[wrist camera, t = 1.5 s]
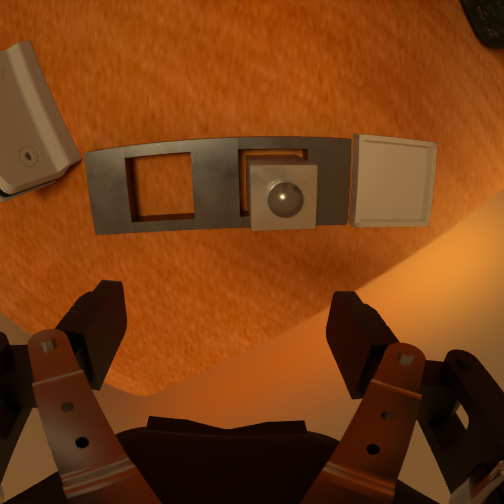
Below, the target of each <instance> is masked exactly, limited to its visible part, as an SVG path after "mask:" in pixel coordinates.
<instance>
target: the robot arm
mask: <svg viewBox="0 0 504 504" xmlns="http://www.w3.org/2000/svg"><path fill="white" fill-rule="evenodd" d="M126 328H127V315H126V307H125V299H124V290H123V285H122V282H121V281H110V280H102V281H101V282H100V283H99V284H98V286H97V287H96V288H95V289H94V291H93V292H91V291H89V292H87V293H86V294H84V295H82V296H81V297H79V298H78V300H77V301H76V302H75V303H74V306H72V307H71V308H70V310H69V312H67V313H66V315H65V316H64V317H63V319H62V320H61V321H60V322H59V324H58V325H57V326H56V328H55V329H47V330H42V331H40V332H38V333H36V334H34V335H33V336H32V337H31V338H30V339H29V341H28V345H10V344H9V341H8V338H7V336H6V335H5V334H4V333H2V332H0V504H439V503H437V502H436V501H434V500H432V499H430V498H429V497H427V496H425V495H423V494H422V493H420V492H418V491H417V490H415V489H413V488H411V487H410V486H408V485H406V484H405V483H403V482H401V481H400V480H398V476H399V473H400V470H401V467H402V465H403V462H404V458H405V456H406V452H407V449H408V446H409V443H410V440H411V436H412V433H413V430H414V426H415V422H416V420H418V422H419V424H420V427H421V429H422V431H423V433H424V435H425V437H426V439H427V441H428V444H429V446H430V447H431V450H432V452H433V455H434V457H435V459H436V461H437V463H438V466H439V468H440V470H441V473H442V475H443V477H444V479H445V482H446V484H447V487H448V489H449V491H450V494H451V497H450V499H449V504H504V392H503V391H502V389H501V388H500V387H499V385H498V384H497V383H496V382H495V380H494V379H493V378H492V377H491V375H490V374H489V373H488V371H487V370H486V369H485V368H484V366H483V365H482V364H481V363H480V361H479V360H478V359H477V358H476V357H475V356H474V355H472V354H471V353H469V352H466V351H464V350H458V349H457V350H451V351H449V352H448V353H447V355H446V357H445V359H444V362H440V361H430V360H426V358H425V355H424V354H423V352H422V351H421V350H420V349H418V348H417V347H415V346H413V345H410V344H407V343H400V342H399V341H398V339H397V338H396V336H395V335H394V334H393V332H392V331H391V330H390V328H389V327H388V326H386V323H385V322H384V320H383V319H382V318H381V316H380V315H379V314H378V312H377V311H376V310H375V309H373V308H372V307H370V306H369V305H368V304H363V302H362V301H361V300H360V298H359V297H358V295H357V294H356V293H355V292H354V291H336V292H335V293H334V294H333V298H332V302H331V307H330V312H329V317H328V322H327V326H326V338H327V342H328V344H329V347H330V349H331V351H332V354H333V356H334V358H335V360H336V363H337V365H338V368H339V370H340V372H341V375H342V376H343V379H344V382H345V384H346V386H347V389H348V391H349V394H350V396H351V398H352V399H361V398H363V399H362V401H361V403H360V405H359V407H358V409H357V411H356V413H355V415H354V416H353V419H352V420H351V423H350V424H349V426H348V428H347V429H346V432H345V433H344V435H343V437H342V439H341V440H340V441H338V440H336V439H334V438H331V437H329V436H326V435H323V434H319V433H315V432H310V431H307V429H306V425H305V421H303V420H301V421H280V422H265V423H260V424H255V425H250V426H244V427H239V428H234V429H222V428H217V427H213V426H209V425H205V424H201V423H197V422H194V421H190V420H185V419H173V418H163V417H154V416H149V419H148V423H147V427H139V428H134V429H129V430H126V431H123V432H121V433H118V434H116V435H115V434H114V432H113V430H112V429H111V427H110V425H109V423H108V421H107V419H106V417H105V415H104V413H103V412H102V410H101V408H100V406H99V404H98V402H97V400H96V397H95V396H94V393H93V391H92V389H94V390H100V388H101V386H102V384H103V381H104V379H105V377H106V374H107V372H108V370H109V368H110V365H111V363H112V361H113V359H114V356H115V354H116V352H117V350H118V347H119V345H120V343H121V341H122V339H123V337H124V335H125V332H126ZM460 404H461V405H462V406H463V408H464V409H465V411H466V413H467V415H468V418H469V424H468V428H467V430H466V429H465V428H464V426H463V424H462V422H461V420H460V419H459V417H458V415H457V414H456V411H457V409H458V408H459V406H460ZM32 408H38V411H39V415H40V418H41V422H42V425H43V429H44V432H45V435H46V438H47V441H48V444H49V447H50V450H51V453H52V456H53V458H54V461H55V464H56V467H57V469H58V471H57V472H55V473H54V474H52V475H50V476H49V477H47V478H46V479H44V480H42V481H41V482H39V483H37V484H35V485H34V486H32V487H30V488H29V489H27V490H25V491H24V492H22V493H20V494H18V495H16V496H15V497H13V498H11V499H9V500H7V501H6V502H4V492H3V489H2V487H1V482H2V479H3V477H4V474H5V471H6V469H7V466H8V463H9V461H10V458H11V456H12V453H13V451H14V448H15V446H16V444H17V441H18V439H19V436H20V434H21V432H22V430H23V427H24V425H25V423H26V421H27V418H28V416H29V414H30V412H31V409H32Z"/></svg>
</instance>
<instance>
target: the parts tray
mask: <svg viewBox="0 0 504 504" xmlns="http://www.w3.org/2000/svg"><path fill="white" fill-rule="evenodd" d="M436 154H437V143H434V142H428V141H421V140H414V139H405V138H397V137H387V136H377V135H365V134H354V143H353V172H352V192H351V207H350V221H349V223H350V224H351V225H352V226H353V227H354V228H361V227H429V221H430V214H431V207H432V198H433V190H434V180H435V168H436Z"/></svg>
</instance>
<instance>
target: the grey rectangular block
mask: <svg viewBox="0 0 504 504" xmlns="http://www.w3.org/2000/svg"><path fill="white" fill-rule="evenodd" d="M246 196H247V208H248V214H249V219H250V225H251V231H259V230H289V229H315V224H316V200H317V165H316V164H314V163H312V162H310V161H308V160H306V159H304V158H302V157H300V156H298V155H296V154H264V155H246Z"/></svg>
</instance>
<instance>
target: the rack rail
mask: <svg viewBox="0 0 504 504" xmlns="http://www.w3.org/2000/svg"><path fill="white" fill-rule="evenodd" d="M277 148H289V149H303V158H304V159H306V160H308V161H310V162H312V163H314V164H316V165H317V200H316V224H315V225H346V224H347V219H348V204H349V188H350V166H351V139H346V138H332V137H302V136H252V137H222V138H203V139H188V140H176V141H165V142H154V143H145V144H136V145H128V146H121V147H113V148H106V149H100V150H93V151H89V152H85V153H84V154H85V164H86V173H87V182H88V190H89V197H90V204H91V211H92V217H93V223H94V229H95V235H106V234H122V233H138V232H156V231H175V230H196V229H218V228H243V227H251V225H250V219H249V214H248V211H240V203H239V170H238V149H277ZM179 152H191V166H192V183H193V198H194V212H195V213H184V214H167V215H151V216H137V209H136V200H135V191H134V182H133V171H132V159H131V157H137V156H146V155H156V154H167V153H179Z"/></svg>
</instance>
